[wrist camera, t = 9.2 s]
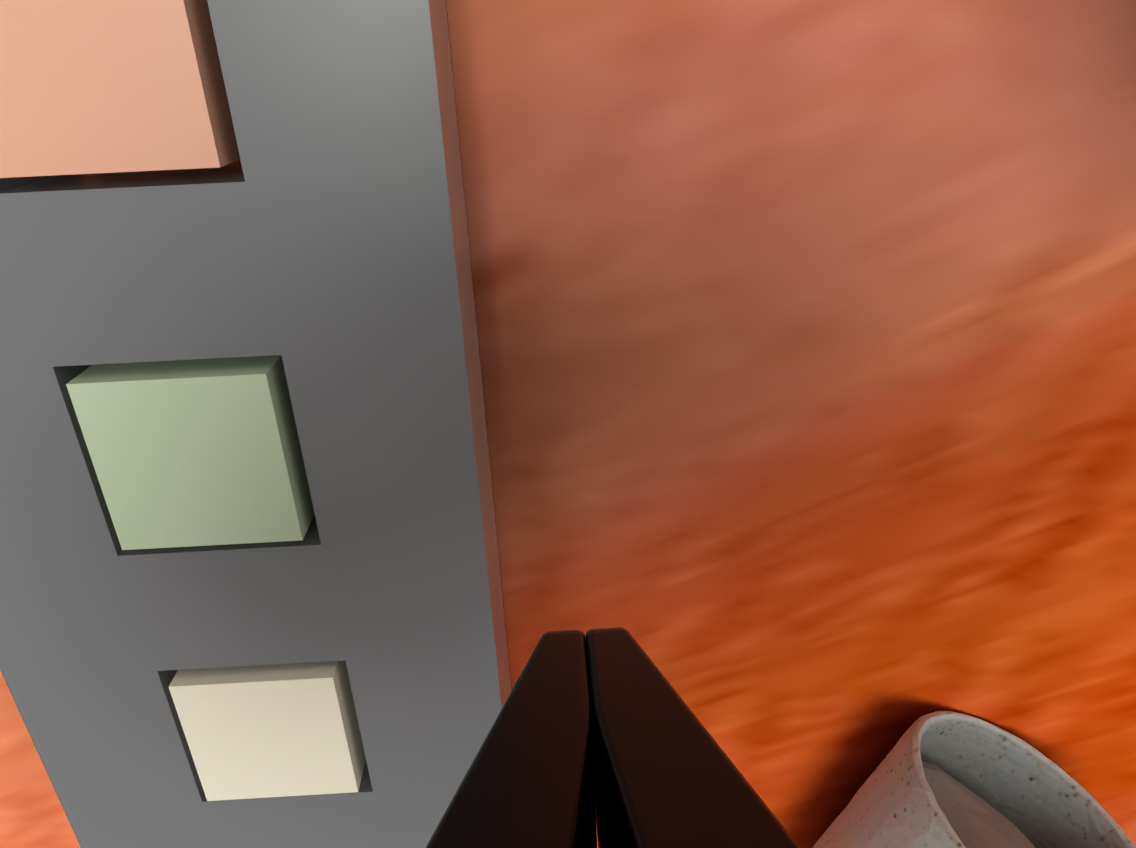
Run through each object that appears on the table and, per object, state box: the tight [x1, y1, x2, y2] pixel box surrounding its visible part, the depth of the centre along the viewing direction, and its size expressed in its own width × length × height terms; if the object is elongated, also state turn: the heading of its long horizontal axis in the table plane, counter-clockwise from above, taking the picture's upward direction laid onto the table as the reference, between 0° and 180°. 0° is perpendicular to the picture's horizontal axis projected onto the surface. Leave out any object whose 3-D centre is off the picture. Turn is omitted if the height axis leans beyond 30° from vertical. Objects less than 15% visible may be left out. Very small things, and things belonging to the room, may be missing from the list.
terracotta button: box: [0, 0, 240, 178], centre depth 15 cm, size 4×4×2 cm
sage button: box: [66, 355, 315, 550], centre depth 18 cm, size 4×4×2 cm
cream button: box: [169, 660, 366, 801], centre depth 22 cm, size 4×4×2 cm
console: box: [0, 0, 512, 848], centre depth 19 cm, size 12×26×3 cm, turn 3°
